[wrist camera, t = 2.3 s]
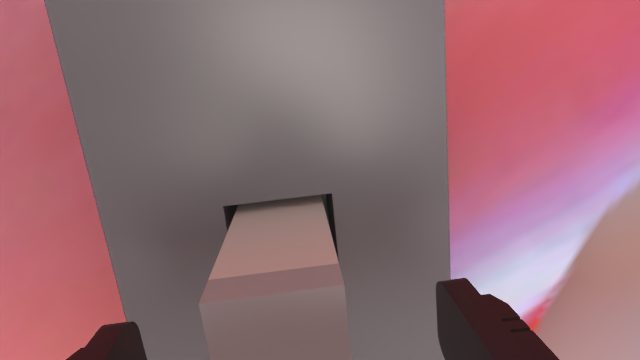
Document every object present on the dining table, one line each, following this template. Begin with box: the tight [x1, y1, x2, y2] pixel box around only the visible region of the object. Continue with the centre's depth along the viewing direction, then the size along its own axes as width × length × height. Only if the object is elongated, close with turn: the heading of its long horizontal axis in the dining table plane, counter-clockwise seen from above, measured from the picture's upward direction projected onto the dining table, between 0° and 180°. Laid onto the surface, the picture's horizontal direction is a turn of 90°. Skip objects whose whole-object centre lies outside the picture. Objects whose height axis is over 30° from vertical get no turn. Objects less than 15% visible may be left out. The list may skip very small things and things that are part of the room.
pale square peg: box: [199, 195, 352, 360], centre depth 16 cm, size 4×4×11 cm
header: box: [44, 0, 450, 360], centre depth 19 cm, size 14×22×4 cm, turn 6°
